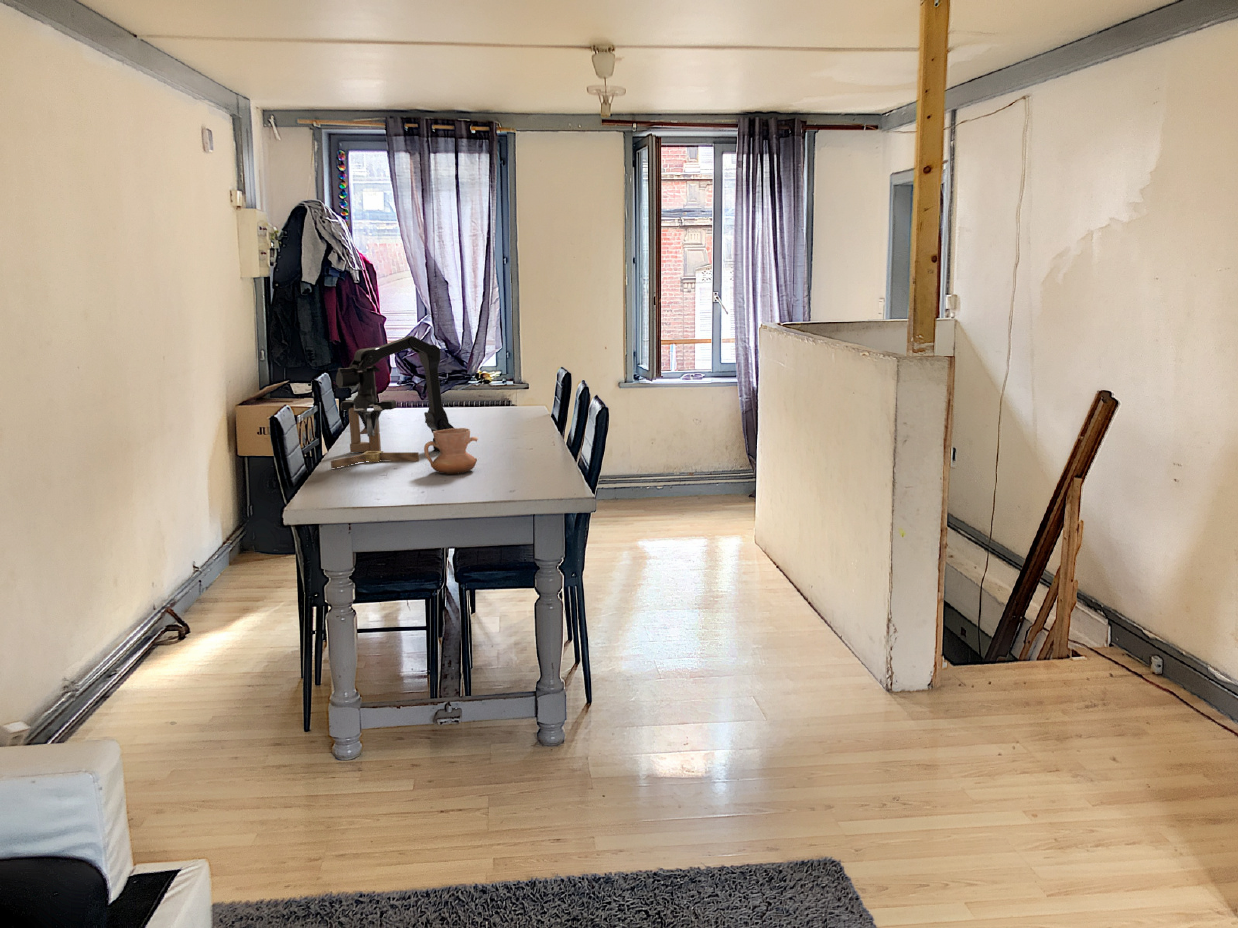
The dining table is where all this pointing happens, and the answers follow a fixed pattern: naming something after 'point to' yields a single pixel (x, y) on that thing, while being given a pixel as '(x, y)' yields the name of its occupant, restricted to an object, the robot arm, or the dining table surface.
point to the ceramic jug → (451, 451)
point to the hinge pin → (369, 423)
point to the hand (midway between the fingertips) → (370, 429)
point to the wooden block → (356, 438)
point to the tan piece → (376, 457)
